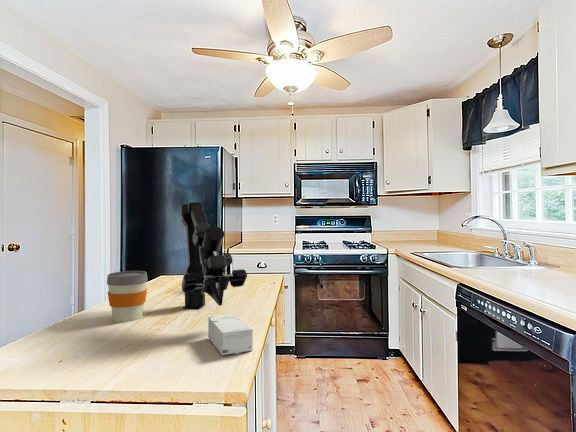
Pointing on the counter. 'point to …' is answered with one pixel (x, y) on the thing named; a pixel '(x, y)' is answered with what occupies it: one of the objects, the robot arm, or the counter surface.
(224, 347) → the skincare box
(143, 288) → the reusable coffee cup
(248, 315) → the counter surface
